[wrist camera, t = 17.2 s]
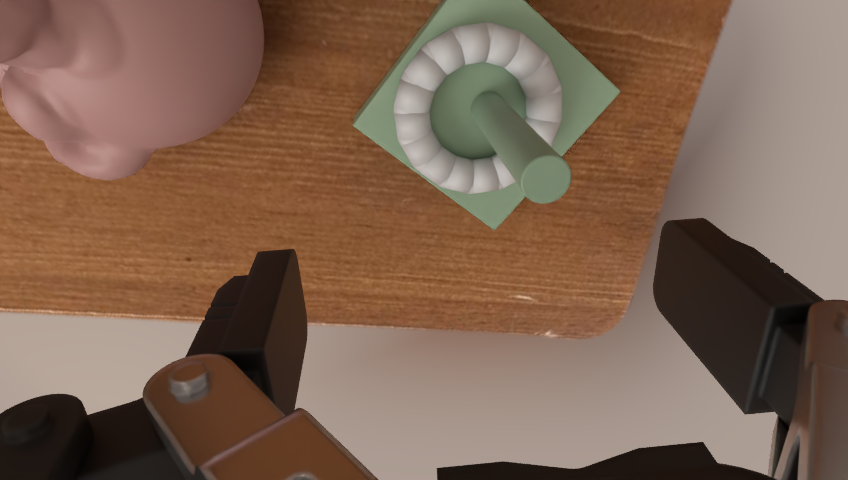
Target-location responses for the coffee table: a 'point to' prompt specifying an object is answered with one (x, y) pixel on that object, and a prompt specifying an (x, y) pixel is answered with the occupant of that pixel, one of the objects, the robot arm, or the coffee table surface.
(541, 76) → the white segmented ring
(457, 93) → the peg stand
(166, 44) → the figurine
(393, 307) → the coffee table surface
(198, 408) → the robot arm
